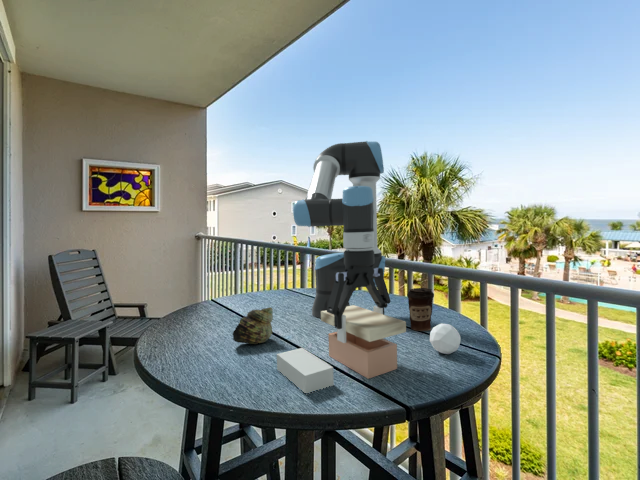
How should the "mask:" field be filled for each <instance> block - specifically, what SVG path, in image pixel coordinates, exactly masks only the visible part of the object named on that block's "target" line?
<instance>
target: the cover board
mask: <svg viewBox="0 0 640 480" xmlns="http://www.w3.org/2000/svg"><path fill="white" fill-rule="evenodd" d="M343 315H345V316H346V332H348V333H350V334H353V335H355V336H357V337H360V338H362V339H364V340H367V341H369V342H371V341H375V340H379V339H385V338H391V337H393V336H396V335H401V334H405V333H407V322H406V321H405V320H402V319H399V318H395V317H393V316H390V315H386V314H384V315H383V314H380V313H377V312H374V310H370V309H368V308H365V307H364V308H363V307H361V306H358V305H354V304H352V305H350V306H346V308H345V311H344V313H343ZM320 322H323V323H326V324H328V325H330V326H333V327H334V328H335V323H334V315H333V314H331V313H328V312H327V310H325V311H321V318H320Z"/></svg>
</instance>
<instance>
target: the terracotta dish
mask: <svg viewBox="0 0 640 480" xmlns="http://www.w3.org/2000/svg"><path fill="white" fill-rule="evenodd" d="M328 356H329V357H330V358H332V359H334V360H335V361H337V362H339V363H341V364H343V365H344V366H345V367H348V368H349V369H351V370H352V371H353V372H356V373H357V374H359V375H361V376H363V378H364V377H365V378H366V379H368V380H369V379H371V378H375V377H377V376H381V375H383V374H386V373H389V372H392V371H395V370H397V369H398V344H397V343H395V342H393V341H391V340H388V339H385V338H383V339H379V340H375V341H371V342H369V341H367V340H364V339H362V338H360V337H357V336H355V335H353V334H350V333H348V332H346V343H342V342H340V341H338V340H337V331H333V332H330V333H328Z"/></svg>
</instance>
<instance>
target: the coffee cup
mask: <svg viewBox="0 0 640 480" xmlns="http://www.w3.org/2000/svg"><path fill="white" fill-rule="evenodd" d="M434 298H435V293H434V292H433V290H432V288H428V287H415V288H410V289H409V291H408V292H407V300H408V301H407V302H408V310H409V321H410V329H411V330H414V331H420V332H426V331H432V323H431V322H432V314H433V302H434V301H433V300H434Z"/></svg>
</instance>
